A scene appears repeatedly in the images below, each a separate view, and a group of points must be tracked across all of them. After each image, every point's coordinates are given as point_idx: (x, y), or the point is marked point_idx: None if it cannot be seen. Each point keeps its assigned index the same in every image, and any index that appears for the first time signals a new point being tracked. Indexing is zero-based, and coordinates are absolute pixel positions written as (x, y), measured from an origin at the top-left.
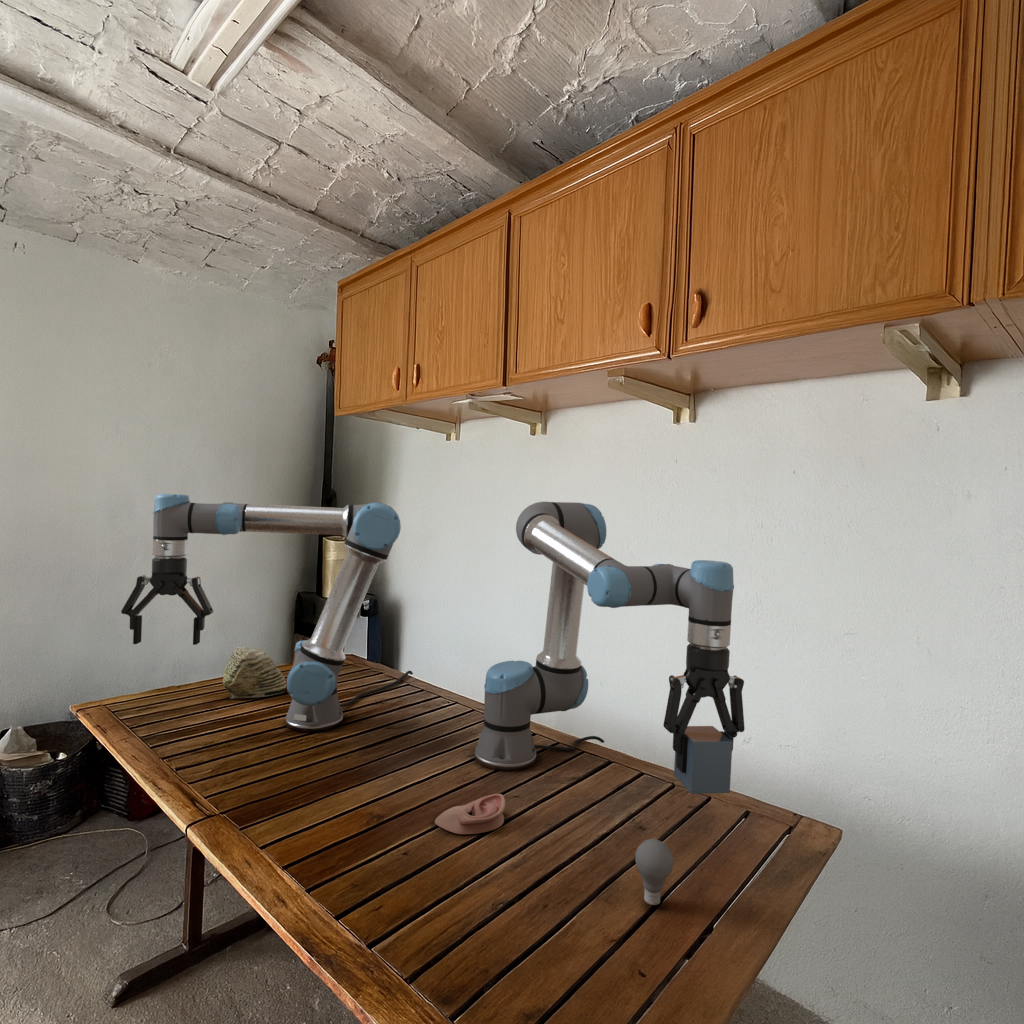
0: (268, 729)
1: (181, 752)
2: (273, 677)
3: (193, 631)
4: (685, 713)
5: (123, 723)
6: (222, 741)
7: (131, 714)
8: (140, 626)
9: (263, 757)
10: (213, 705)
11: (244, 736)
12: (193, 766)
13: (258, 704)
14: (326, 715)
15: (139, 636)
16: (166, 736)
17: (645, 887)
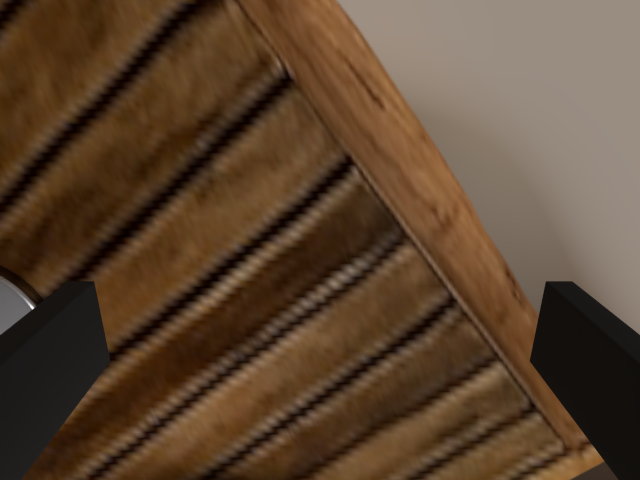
0: None
1: (255, 122)
2: None
3: (16, 348)
4: None
5: (483, 332)
6: (174, 200)
7: (483, 390)
8: (618, 445)
9: (4, 73)
10: (300, 445)
11: (129, 234)
12: (177, 10)
13: (188, 450)
14: None
15: (563, 360)
16: (340, 241)
17: None
